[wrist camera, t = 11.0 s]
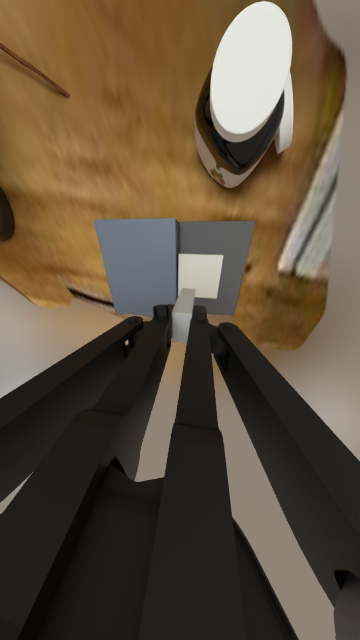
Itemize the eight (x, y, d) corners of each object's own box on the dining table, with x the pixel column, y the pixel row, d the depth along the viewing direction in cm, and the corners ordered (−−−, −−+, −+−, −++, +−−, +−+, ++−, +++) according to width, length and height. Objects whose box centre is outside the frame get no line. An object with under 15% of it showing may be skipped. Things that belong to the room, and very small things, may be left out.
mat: (179, 311, 37) (179, 311, 37) (180, 222, 28) (179, 221, 27) (233, 314, 35) (233, 315, 35) (254, 221, 26) (255, 220, 26)
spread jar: (189, 154, 23) (179, 81, 13) (245, 54, 18) (303, -196, 8) (236, 209, 26) (259, 185, 15) (297, 135, 21) (391, 27, 10)
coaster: (179, 292, 34) (178, 296, 32) (180, 253, 30) (178, 253, 28) (215, 295, 33) (216, 298, 31) (221, 254, 29) (223, 255, 27)
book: (123, 307, 39) (116, 313, 36) (106, 222, 30) (93, 219, 26) (178, 310, 37) (175, 317, 34) (178, 222, 28) (175, 218, 24)
